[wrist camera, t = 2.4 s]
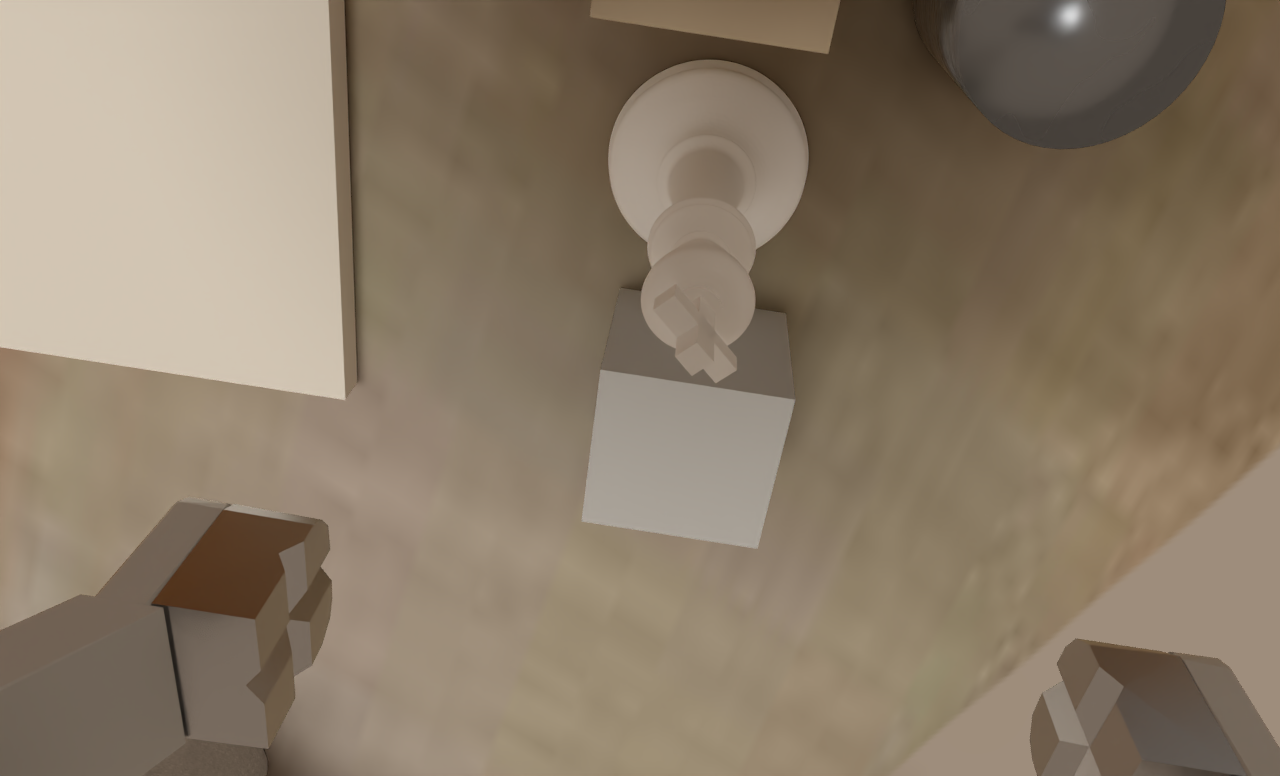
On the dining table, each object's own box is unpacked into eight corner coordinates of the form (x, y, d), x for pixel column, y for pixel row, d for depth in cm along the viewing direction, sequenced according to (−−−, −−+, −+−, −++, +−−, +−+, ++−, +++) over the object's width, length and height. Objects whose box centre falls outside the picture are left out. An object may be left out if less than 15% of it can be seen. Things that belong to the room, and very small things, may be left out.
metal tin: (945, -147, 19) (1005, -138, 15) (1155, -115, 19) (1275, -98, 15) (889, 70, 22) (927, 130, 18) (1077, 98, 22) (1162, 165, 17)
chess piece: (687, 289, 25) (666, 530, 16) (568, 143, 23) (474, 328, 15) (847, 181, 23) (916, 389, 15) (730, 13, 21) (730, 140, 13)
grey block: (620, 286, 25) (600, 369, 21) (785, 311, 25) (795, 399, 21) (602, 424, 28) (581, 521, 24) (753, 447, 28) (757, 548, 24)
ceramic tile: (-305, -270, 20) (-351, -274, 19) (338, -173, 20) (320, -172, 19) (-116, 309, 27) (-143, 325, 27) (357, 382, 27) (345, 400, 27)
